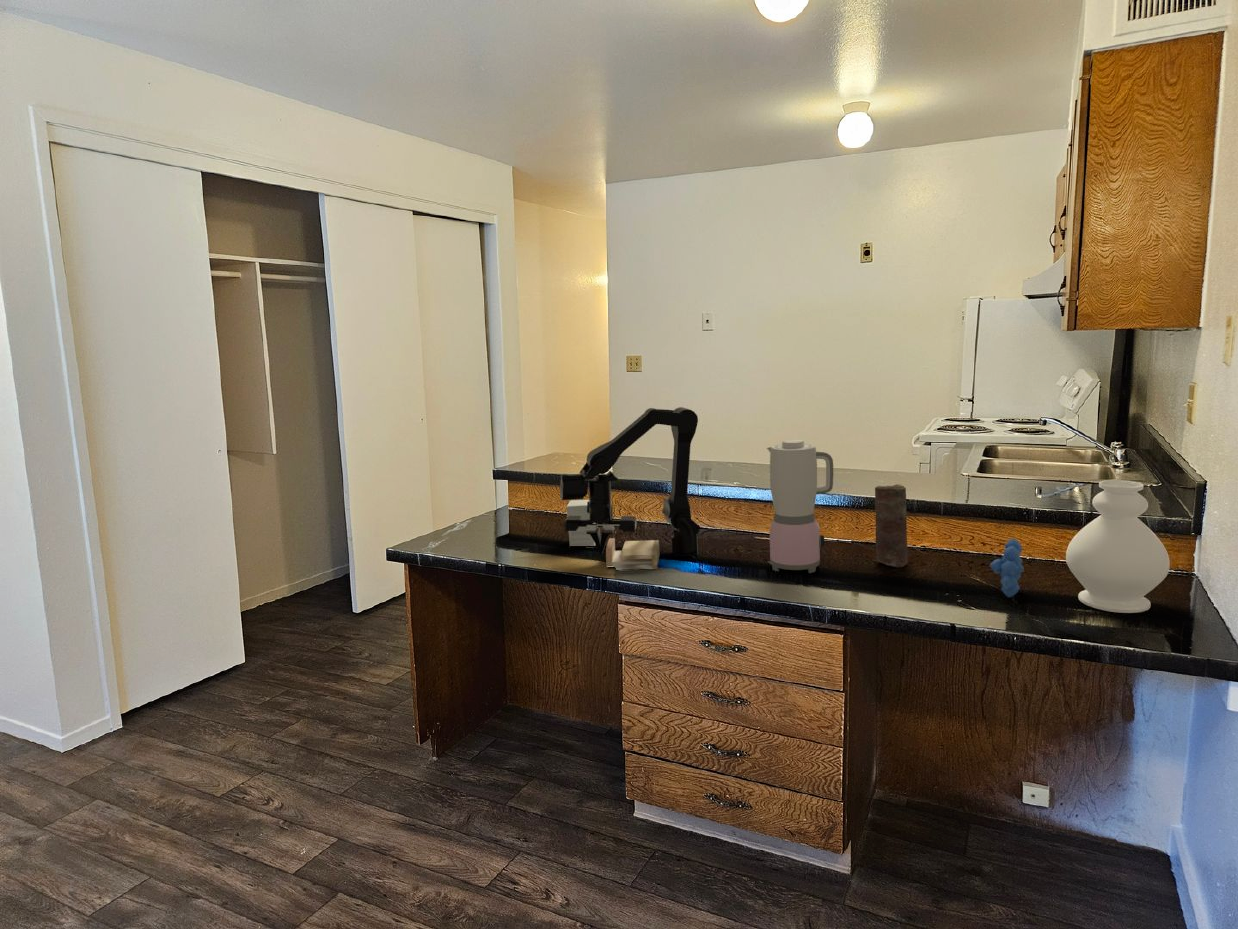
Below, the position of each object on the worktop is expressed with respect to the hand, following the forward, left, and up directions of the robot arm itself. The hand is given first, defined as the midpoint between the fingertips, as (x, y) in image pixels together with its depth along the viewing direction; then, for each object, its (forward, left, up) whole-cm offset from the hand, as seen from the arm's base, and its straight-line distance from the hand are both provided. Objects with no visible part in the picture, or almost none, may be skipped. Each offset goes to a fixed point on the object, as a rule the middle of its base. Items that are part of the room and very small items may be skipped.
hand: (601, 554), depth 203 cm
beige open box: (-9, 0, -2) cm, 9 cm away
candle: (-73, +6, -3) cm, 74 cm away
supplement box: (+8, -18, -3) cm, 20 cm away
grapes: (-92, +28, -3) cm, 97 cm away
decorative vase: (-111, +34, -3) cm, 117 cm away
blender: (-51, +7, -3) cm, 52 cm away
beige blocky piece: (-8, 0, -2) cm, 8 cm away
